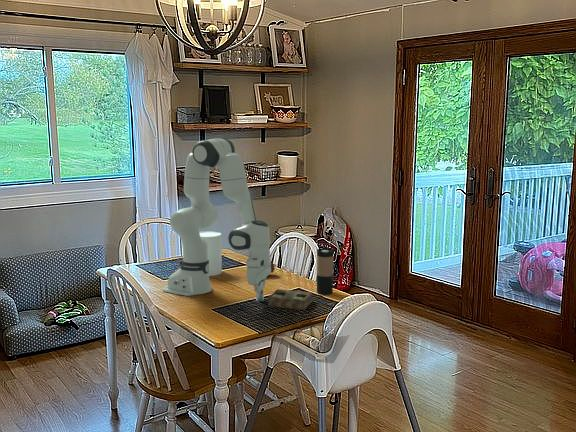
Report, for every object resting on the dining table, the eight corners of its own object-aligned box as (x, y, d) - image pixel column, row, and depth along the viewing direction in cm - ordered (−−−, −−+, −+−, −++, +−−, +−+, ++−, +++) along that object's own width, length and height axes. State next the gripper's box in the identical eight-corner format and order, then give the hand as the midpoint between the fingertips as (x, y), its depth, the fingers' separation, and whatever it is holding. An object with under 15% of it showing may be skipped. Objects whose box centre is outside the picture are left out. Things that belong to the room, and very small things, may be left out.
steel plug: (255, 301, 264) (255, 279, 262) (257, 299, 267) (257, 277, 265) (262, 302, 263) (262, 279, 261) (264, 299, 266) (264, 277, 264)
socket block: (268, 306, 257) (268, 296, 257) (277, 297, 269) (277, 288, 268) (304, 310, 253) (304, 300, 252) (312, 301, 264) (312, 291, 263)
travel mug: (324, 289, 282) (324, 247, 278) (336, 292, 276) (337, 250, 273) (312, 292, 276) (313, 249, 273) (325, 296, 271) (325, 252, 268)
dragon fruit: (277, 277, 306) (254, 283, 302) (270, 265, 312) (248, 270, 307) (278, 267, 300) (256, 273, 296) (272, 254, 305) (250, 260, 301)
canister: (190, 274, 306) (189, 235, 303) (203, 267, 319) (202, 230, 315) (213, 277, 301) (212, 237, 298) (226, 270, 314) (225, 232, 310)
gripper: (261, 252, 272) (261, 282, 275) (244, 263, 253) (244, 295, 255) (274, 253, 270) (274, 283, 273) (258, 264, 251) (258, 296, 254)
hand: (259, 289), depth 264 cm, fingers open, 5 cm apart
